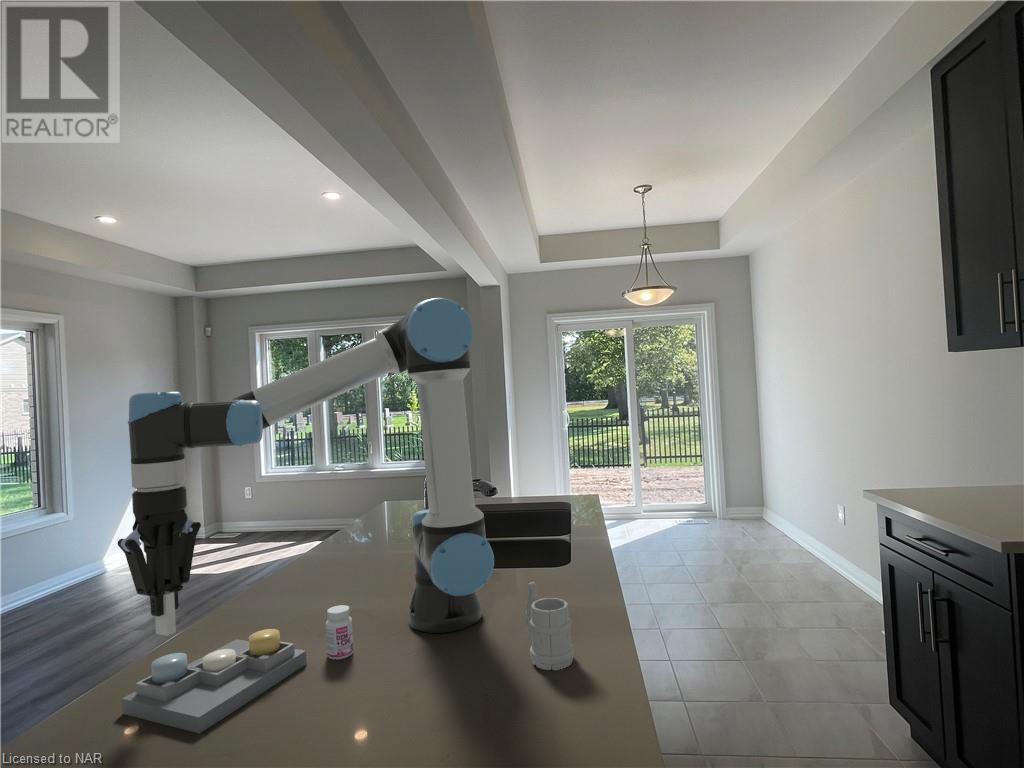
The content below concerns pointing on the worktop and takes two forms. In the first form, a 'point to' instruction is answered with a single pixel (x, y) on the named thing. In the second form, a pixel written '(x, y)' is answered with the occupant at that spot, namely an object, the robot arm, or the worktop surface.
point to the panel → (212, 688)
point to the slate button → (169, 667)
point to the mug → (549, 631)
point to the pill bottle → (339, 632)
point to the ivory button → (219, 660)
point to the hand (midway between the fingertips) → (165, 632)
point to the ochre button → (264, 642)
